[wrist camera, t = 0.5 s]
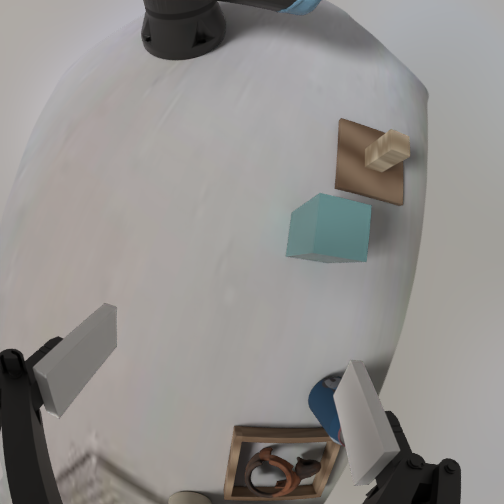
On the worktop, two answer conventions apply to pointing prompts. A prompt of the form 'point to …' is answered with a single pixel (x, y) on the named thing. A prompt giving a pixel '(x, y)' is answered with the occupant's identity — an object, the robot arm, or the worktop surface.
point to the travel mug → (188, 498)
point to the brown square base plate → (371, 162)
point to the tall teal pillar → (330, 230)
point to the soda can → (327, 407)
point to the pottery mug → (293, 478)
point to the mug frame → (279, 436)
